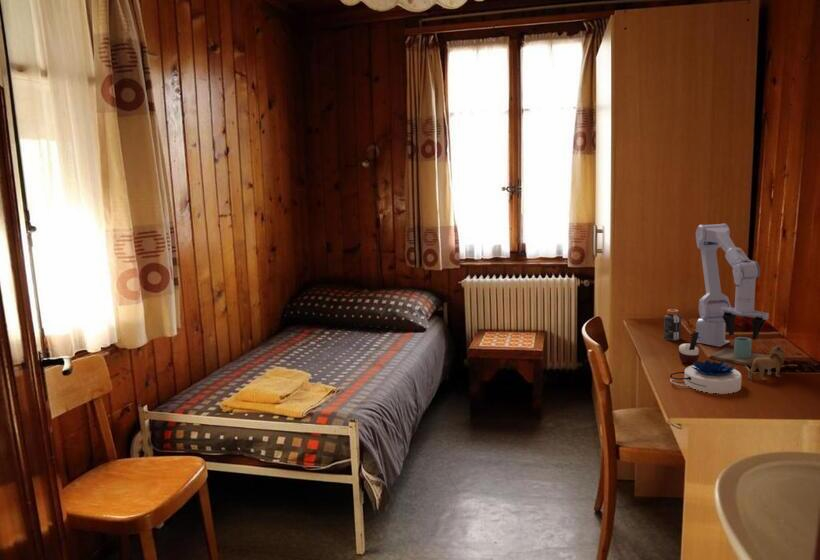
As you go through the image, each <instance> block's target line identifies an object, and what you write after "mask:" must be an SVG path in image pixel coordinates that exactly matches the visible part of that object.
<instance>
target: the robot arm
mask: <svg viewBox="0 0 820 560" xmlns="http://www.w3.org/2000/svg"><path fill="white" fill-rule="evenodd" d="M730 235H731V231H730V227H729V225H728V224H727V223H720V224H719V223H717V224H699V225H698V226H697V228H696V231H695V241H696V247H697V248H698V249H700V255H701V261H702V262H701V263H702V270H703V271H702V272H703V279H704V286H705V294H704V295H703V296H702V297H701V298H699V301H698V313H699V316H700V317H699V318H698V319H697V321H696V323H695V332H698V333H699V334H698V338H697V342H696V344H703V345H709V346H714V347H719V348H721V347H722V346H724V345H727V344H729V343H730V340H726V329H727V332H728V335H729V336H734V335H735V321H736V317H737V316H740V317H749V318H753V319H752V320H751V324H752V340H754V341H755V340H757V339H758V337H759V334H760V332H761V329H762V327H763V325H764V324H765V322H766V321H767V320H769V315H770V313H769V312H766V311H765V312H764V311H761V310H760V311H759V310H755V302H756V301H755V298H756V297H755V296H756V280H757V279H758V278H759V277H760V276H761V267H760V264H759V263H758V262H757V261H756V260H755V261H754V260H752V259H750V258H749V257H748V255H746V252H745V251H744V250H743V249H742V248H741V247H737V246H736V245H735V243H734V242H733V240H732V237H730ZM719 248H721V250H723V252H724V253H725V254H724V255H725V256H724V257H725V259H726V261H727V262H728V264H729V266H731V268H732V275H733V283H734V284H735V294H734V297H735V298H734V307H732V304H731V303H730V299H729V298H730V297H728V296H727V295H726V294H724V293H723V292H722V287H721V280H720V273H719V263H718V258H717V257H718V256H717V250H718V249H719Z"/></svg>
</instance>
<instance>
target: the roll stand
mask: <svg viewBox="0 0 820 560" xmlns="http://www.w3.org/2000/svg"><path fill="white" fill-rule="evenodd" d="M709 357H710V359H712V360H715V361H716V360H717V361H720V362H722V361H723V362H726V363H731V364H737V365H740V366H745V367H746V366H747V367H752V363H753V360H754V359H756V358H767V357H769V354H768V355H767V354H761V353H756V352H753V351H751V357H750V358H737V357H735V356H734V348H731V347H725V348H722V349H721V350H718V351H717V352H714V353H713V354H711V355H710V356H709ZM756 369H758V367H757V368H756Z"/></svg>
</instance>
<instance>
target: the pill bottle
mask: <svg viewBox="0 0 820 560" xmlns="http://www.w3.org/2000/svg"><path fill="white" fill-rule="evenodd" d="M666 313H667V314H665V315H664V323H663V324H664V325H663V327H664V328H663V338H664V339H665V340H668V341H678V340H681V338H682V337H681V336H682V332H681V331H682V317H681V315H679V310H678V309H676V308H669V309H667V311H666Z"/></svg>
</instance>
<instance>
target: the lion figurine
mask: <svg viewBox="0 0 820 560" xmlns="http://www.w3.org/2000/svg"><path fill="white" fill-rule="evenodd" d="M768 356H769V357H767V358H756V359H754V360H753V363H752V367H751V368H750V370H749V371H748V374H747V379H750V381H753V380H754V372H755V371H756V370H757V369H758V371H759V375H758V377H760V378H761V380H762V381H767V380H768V379H767V378H766V377H764V374H765V373H764V372H765V371H766V370H767V373H766V374H767V376H768V375H769V376H771V375H773V374H772V369H775V377H777V378H781V375H780V370H781V366H782V365H783V364H784V363H785V357H786V355H785V350H784V349H783V347H782V346H779V345H774V346H773V347H771V348H770V351H769V354H768ZM757 367H758V368H757Z"/></svg>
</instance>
